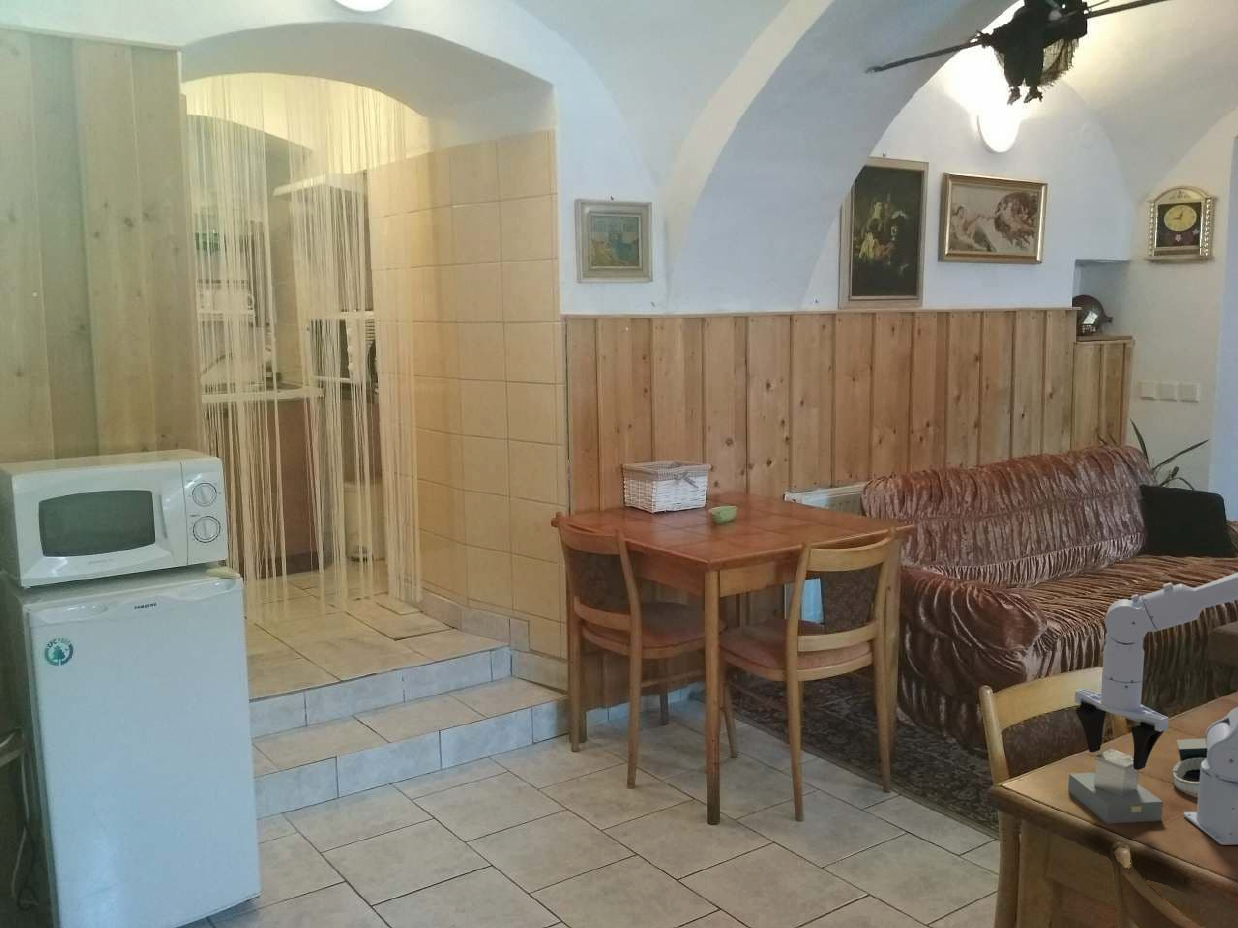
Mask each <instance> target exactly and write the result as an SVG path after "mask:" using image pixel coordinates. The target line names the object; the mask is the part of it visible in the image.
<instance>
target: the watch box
mask: <svg viewBox="0 0 1238 928" xmlns="http://www.w3.org/2000/svg"><path fill="white" fill-rule="evenodd" d="M1094 779H1095V772H1080V773H1079V772H1078V773H1069V774H1068V786H1067V787H1068V789H1067V790H1068V791H1067V792H1068V793H1069V794H1071V796H1073V797H1074V798H1075V799H1077V800H1078V801H1079V802H1080V803H1082V804H1083V806H1085V807H1086V808H1088V809H1089V810H1090V811H1091V812H1092V813H1094V814H1095V815H1096V816H1097V817H1098V818H1100V819H1101V820H1102V821H1103V822H1105V823H1106V824H1122V823H1124V824H1125V823H1139V822H1140V823H1142V822H1155V821H1156V822H1157V821H1159V822H1161V821H1162V819H1163V815H1162V814H1163V808H1164V807H1163V806H1164V801H1163V800H1161V799H1160V798H1159V797H1157V796H1156V795H1155V794H1153V793H1152V792H1150V791H1149V790H1148V789H1146V788H1145V787H1143V786H1142V785H1141V784H1139V783H1138V785H1137V790H1135V791H1133V792H1131V793H1129V794H1127V795H1125V796H1123V797H1121V796H1119V795H1116V794H1114V793H1111V792H1109V791H1106V790H1104V789H1101V788H1098V787H1096V786H1094Z"/></svg>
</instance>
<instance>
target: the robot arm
mask: <svg viewBox="0 0 1238 928" xmlns="http://www.w3.org/2000/svg"><path fill="white" fill-rule="evenodd" d="M1130 597H1131V599H1128V598H1123V599H1122V598H1121V599H1119V600H1116V601H1114V602H1113V603H1112V604H1111V605H1110V606H1109V607H1108V609H1107V612H1106V613H1105V621H1104V622H1105V623H1104V625H1105V630H1106V634H1105V638H1104V639H1105V640H1104V641H1105V645H1104V647H1103V657H1102V658H1103V659H1102V673H1101V674H1102V675H1101V688H1100V690H1101V691H1100V692H1095V691H1092V690H1087V689H1084V688H1081V689H1078V690H1075V691H1074V703H1076V704H1079V707H1077V708H1075V713H1076V715H1077V717H1078V719H1079V721H1080V723H1081V726H1082V728H1083V731H1084V733H1085V734H1084V735H1085V738H1086V743H1087V747H1088V752H1090V753H1096V752H1098V751H1100V750H1101V747H1102V740H1103V729H1104V723H1105V719H1106V716H1107V713H1110V714H1113V715H1116V716H1119V717H1121V718H1125V719H1128V720H1130V721H1133V722H1136V723H1139V725H1136V726H1133V727H1131V729H1130V731H1131V735H1132V739H1133V740H1132V741H1133V757H1134V758H1133V767H1134V769H1136V770H1139V771H1140V770H1142V769H1145V768H1146V766H1147V763H1148V759H1149V757H1150V754H1151V753H1152V750H1153V748H1154V746H1155V745H1156V744H1157V741H1158V739H1160V738H1161V736H1162V735H1163V734H1164V732H1165V731H1166V730H1168V729H1169V719H1170V718H1169V717H1168V716H1166V715H1163V714H1161V713H1159V712H1157V711H1154V710H1153V709H1151V708H1149V707H1147V706H1145V705H1143V704H1142V692H1143V681H1144V680H1143V679H1144V676H1143V675H1144V663H1145V650H1144V638H1145V637H1146V635H1147V634H1148V633H1149V632H1150V633H1157V632H1160V631H1163V630H1167V629H1171V628H1172V627H1173V628H1174V627H1176V626H1179V625H1183V624H1186V623H1189V622H1193V621H1196V620H1198V619H1199V618H1200V614H1201V613H1202V611H1203V610H1204V609H1207V608H1211V607H1214V606H1218V605H1222V604H1226V603H1227V604H1228V603H1230V602H1234V601H1238V572H1236V573H1232V574H1230V575H1227V576H1225V577H1222V578H1219V579H1216V580H1213V581H1210V582H1207V583H1203V584H1202V585H1200V586H1199V585H1198V586H1196V587H1193V586H1192V587H1191V586H1190V585H1189V586H1188V585H1186V584H1183V583H1178V584H1176V585H1174V584H1173V582H1168V583H1164V584H1162V589H1158V590H1156V591H1153V592H1149V593H1146V594H1143V595H1139V594H1138V593H1136V594H1132V595H1131V596H1130ZM1204 739H1205V741H1206V744H1207V751H1208V752H1207V758H1206V759H1205V760H1204V761H1202V763H1201V770H1200V778H1199V781H1198V782H1199V793H1198V795H1197V804H1196V805H1197V807H1196V811H1184V812H1183V816H1184V817H1185V818H1186V819H1187V820H1189V821H1190V822H1191V823H1192V824H1194V825H1195V826H1196V827H1198V829H1200V830H1202V831H1203V832H1204V833H1205V834H1206V835H1208V836H1209V837H1211V839H1213V840H1214V841H1215V842H1217V843H1218V844H1219V845H1222V846H1226V845H1227V846H1228V845H1229V846H1230V845H1238V706H1236V707H1235V708H1233V709H1231V710H1230V711H1229V712H1228V713H1227V714H1226V716H1225V717H1223V718H1222V719H1219V720H1216V721H1214V722H1213V723H1211V724H1210V725H1209V726H1208V727H1207V728H1206V731H1205V734H1204Z"/></svg>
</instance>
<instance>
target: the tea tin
mask: <svg viewBox="0 0 1238 928" xmlns="http://www.w3.org/2000/svg"><path fill="white" fill-rule="evenodd" d="M1133 758H1134V755H1133V756H1132V755H1129V754H1127V753H1124V752H1121V751H1119V750H1116V749H1113V748H1110V749H1107V750H1106V751H1103V752H1102V753H1100V754H1097V755H1095V768H1094V769H1095V770H1094V773H1095V779H1094V786H1096V787H1098V788H1101V789H1104V790H1106V791H1109V792H1111V793H1114V794H1116V795H1119V796H1121V797H1123V796H1125V795H1127V794H1129V793H1131V792H1133V791H1135V790H1137V785H1138V784H1139V783H1138V782H1139V775H1140V774H1139V773H1140V770H1136V769H1134V767H1133Z"/></svg>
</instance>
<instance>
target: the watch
mask: <svg viewBox="0 0 1238 928" xmlns="http://www.w3.org/2000/svg"><path fill="white" fill-rule="evenodd" d="M1176 743H1177V747H1178V750H1177V751H1178V754H1179V759H1180V761H1178V762H1177V763H1176V764H1175V765H1174V767H1173V769H1172V772H1171V773H1172V775H1171V776H1172V779H1173V783H1174V785H1175V787H1176V788H1177V789H1178V790H1180V791H1181V792H1183V793H1186V794H1187V795H1193V796H1198V793H1199V781H1188V780H1184V779H1182V778H1183V777H1187V778H1193V779H1200V770H1201V763H1202V761H1204V760H1205V759H1206V758H1207V752H1208V751H1207V744H1206V741H1205V738H1187V739H1176Z"/></svg>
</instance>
